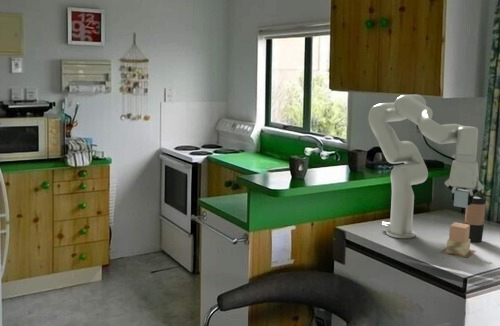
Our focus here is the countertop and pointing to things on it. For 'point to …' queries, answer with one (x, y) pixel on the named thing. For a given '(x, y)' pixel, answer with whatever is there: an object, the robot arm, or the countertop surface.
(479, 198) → the travel mug
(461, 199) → the slate block
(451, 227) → the terracotta block
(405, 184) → the robot arm
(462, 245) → the beech base block
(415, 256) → the countertop surface
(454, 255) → the walnut board
